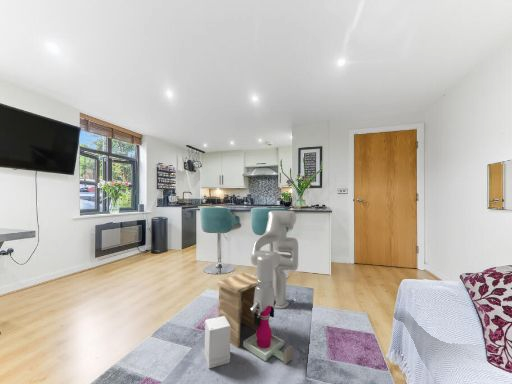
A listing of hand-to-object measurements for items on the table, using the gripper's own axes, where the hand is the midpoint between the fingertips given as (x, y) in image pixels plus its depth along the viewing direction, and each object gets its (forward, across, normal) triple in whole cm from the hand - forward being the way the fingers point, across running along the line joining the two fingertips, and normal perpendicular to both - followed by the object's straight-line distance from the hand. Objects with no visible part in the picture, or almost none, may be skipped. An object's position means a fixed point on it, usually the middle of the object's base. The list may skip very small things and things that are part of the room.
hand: (264, 320), depth 103 cm
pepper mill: (+10, 0, 0) cm, 11 cm away
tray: (+11, +1, +4) cm, 12 cm away
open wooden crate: (+12, +1, -15) cm, 19 cm away
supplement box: (+12, +20, -9) cm, 25 cm away
